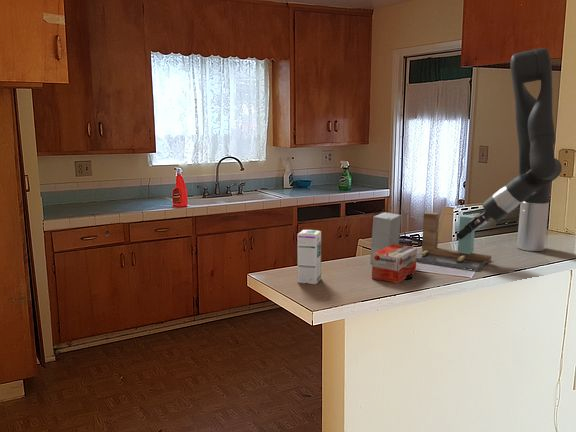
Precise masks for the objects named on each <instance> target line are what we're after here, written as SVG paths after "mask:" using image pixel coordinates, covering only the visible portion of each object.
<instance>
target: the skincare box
mask: <svg viewBox="0 0 576 432" xmlns="http://www.w3.org/2000/svg"><path fill="white" fill-rule="evenodd" d="M372 219H373V220H372V231H371V244H370V245H371V247H370V261H369V263H370V264H372V262H373V253H375V252H377V251H379V250H381V249H383V248H385V247H387V246H390V245H392V244H398V245H400V235H401V222H402V215H401V214H398V213H397V214H396V213H392V212H385V211H384V212H381V213H379V214H377V215H374V216H373V217H372Z"/></svg>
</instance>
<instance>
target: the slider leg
mask: <svg viewBox="0 0 576 432" xmlns="http://www.w3.org/2000/svg"><path fill="white" fill-rule="evenodd" d="M474 217H476V215H468V214H462V215H460V216H459V227H458V229H459V230H458V233H459V232H460V231H461V230H462V229H464V227H465V226H466V225H467V224H469V223H470V221H471V220H472V219H473V218H474ZM469 227H470V228H471V229H472V227H471V226H470V225H469ZM475 232H476V230H475V229H474V230H473V231H472V232H471V233H469V234H467V235H466V236H465V237H464V238H462V239H459V238H458V241H457V251H458V253H465V254H471V253H474V249H475V248H474V247H475V246H474V245H475V236H476V234H475ZM464 258H465V256H464V255H462V256H460V257H459V258H458V261H462V260H463V259H464Z"/></svg>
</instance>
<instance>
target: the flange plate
mask: <svg viewBox="0 0 576 432" xmlns="http://www.w3.org/2000/svg"><path fill="white" fill-rule="evenodd" d="M421 253H422V251H420V252H417V260H416V263H422V264H428V263H429V264H430V265H435V266H441V265H442V266H443V267H447V266H451V267H450V268H454V267H457V268H456V269H460V268H465V269H464V270H466V269H472V270H471V271H473V270H475V272H478V271H479V270H480V269H481V268H483V266H485V265H486V264H487V263H488V262H485V261H478V260H471V259H463V260H462V261H458V257H451V256H444V255H437V254H430V253H428V254H426V255H424V256H422V255H421ZM485 263H486V264H485ZM484 264H485V265H484Z"/></svg>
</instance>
